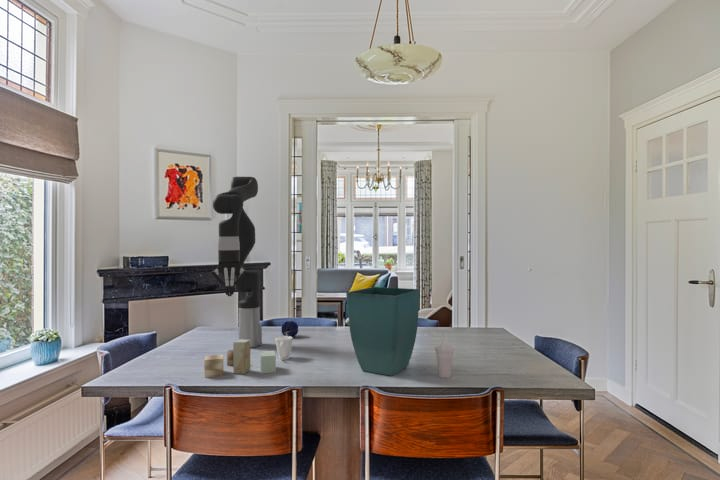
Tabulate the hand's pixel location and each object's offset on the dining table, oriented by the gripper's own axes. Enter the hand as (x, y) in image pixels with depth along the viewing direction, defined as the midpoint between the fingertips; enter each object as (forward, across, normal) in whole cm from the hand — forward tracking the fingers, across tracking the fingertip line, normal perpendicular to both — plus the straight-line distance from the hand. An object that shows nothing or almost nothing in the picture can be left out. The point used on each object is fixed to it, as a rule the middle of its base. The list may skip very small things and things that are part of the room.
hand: (229, 296), depth 159 cm
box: (+27, +4, -7) cm, 28 cm away
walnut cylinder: (+27, +1, +4) cm, 27 cm away
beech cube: (+26, -6, -6) cm, 28 cm away
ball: (+28, +28, +45) cm, 60 cm away
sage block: (+26, +13, -8) cm, 30 cm away
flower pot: (+26, +53, -21) cm, 63 cm away
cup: (+27, +20, +6) cm, 34 cm away
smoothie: (+26, +69, -34) cm, 82 cm away
